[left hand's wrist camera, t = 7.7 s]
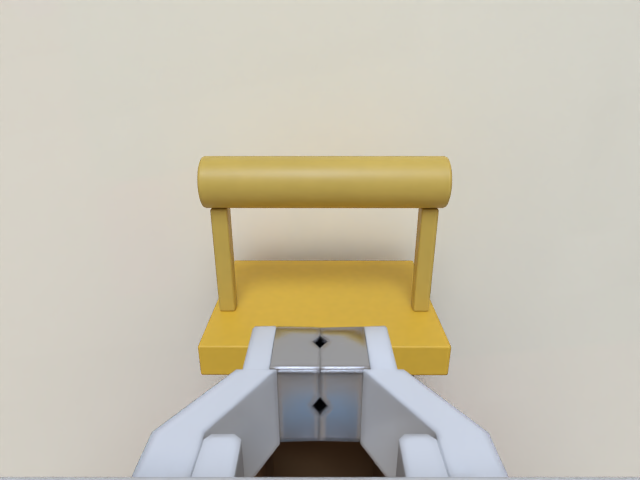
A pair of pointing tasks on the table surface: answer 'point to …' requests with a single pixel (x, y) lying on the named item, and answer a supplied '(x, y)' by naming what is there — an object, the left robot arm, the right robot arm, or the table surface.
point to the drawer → (324, 275)
